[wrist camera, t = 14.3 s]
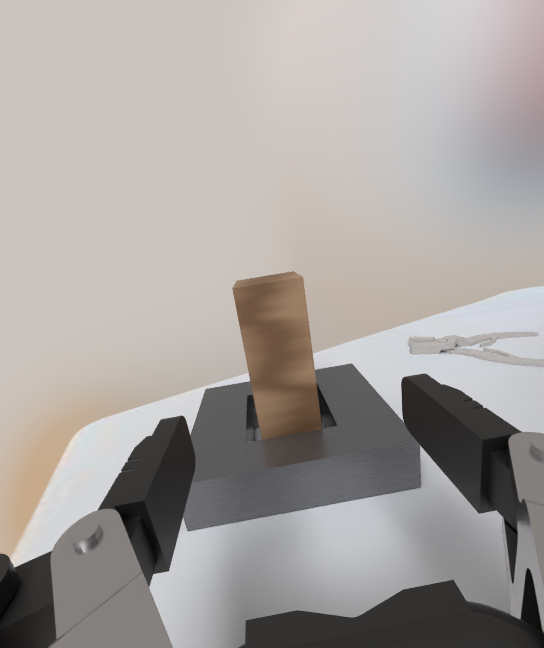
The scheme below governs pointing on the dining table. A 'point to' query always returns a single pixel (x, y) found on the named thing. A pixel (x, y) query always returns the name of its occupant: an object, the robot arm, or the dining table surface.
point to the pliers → (448, 345)
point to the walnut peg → (278, 353)
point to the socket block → (297, 453)
